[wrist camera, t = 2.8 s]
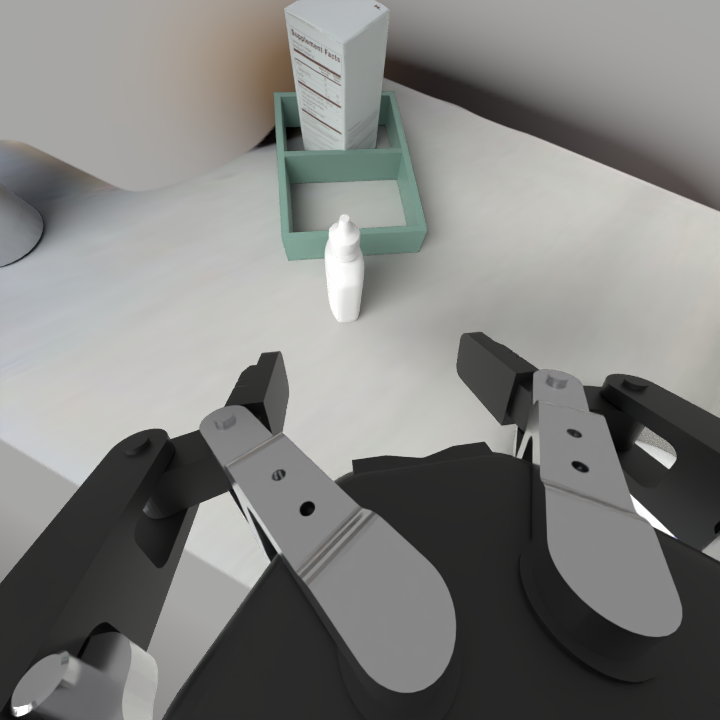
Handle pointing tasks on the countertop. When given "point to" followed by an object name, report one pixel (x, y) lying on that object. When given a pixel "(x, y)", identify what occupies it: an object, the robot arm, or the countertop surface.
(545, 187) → the countertop surface
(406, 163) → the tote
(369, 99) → the supplement box
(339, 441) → the countertop surface
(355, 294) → the eye dropper bottle
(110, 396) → the countertop surface
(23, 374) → the countertop surface
